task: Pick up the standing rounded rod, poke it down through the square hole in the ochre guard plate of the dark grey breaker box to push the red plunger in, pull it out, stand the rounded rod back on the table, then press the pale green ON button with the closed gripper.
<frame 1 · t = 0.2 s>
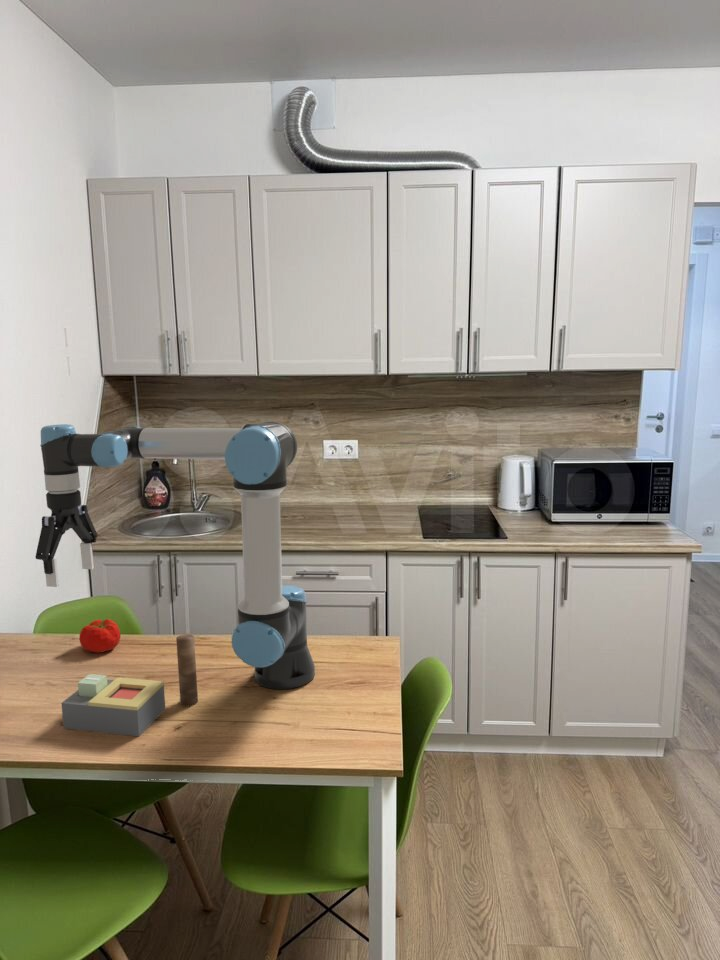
hand: (71, 577, 171), 28 cm above the table, fingers open, 13 cm apart
tomato: (102, 649, 197), on the table
on button: (93, 687, 159), point 7 cm above the table, slide at 0.0 cm
rounded rod: (189, 702, 166), on the table
plunger: (126, 700, 157), point 5 cm above the table, slide at 0.0 cm
breaker box: (115, 718, 159), on the table
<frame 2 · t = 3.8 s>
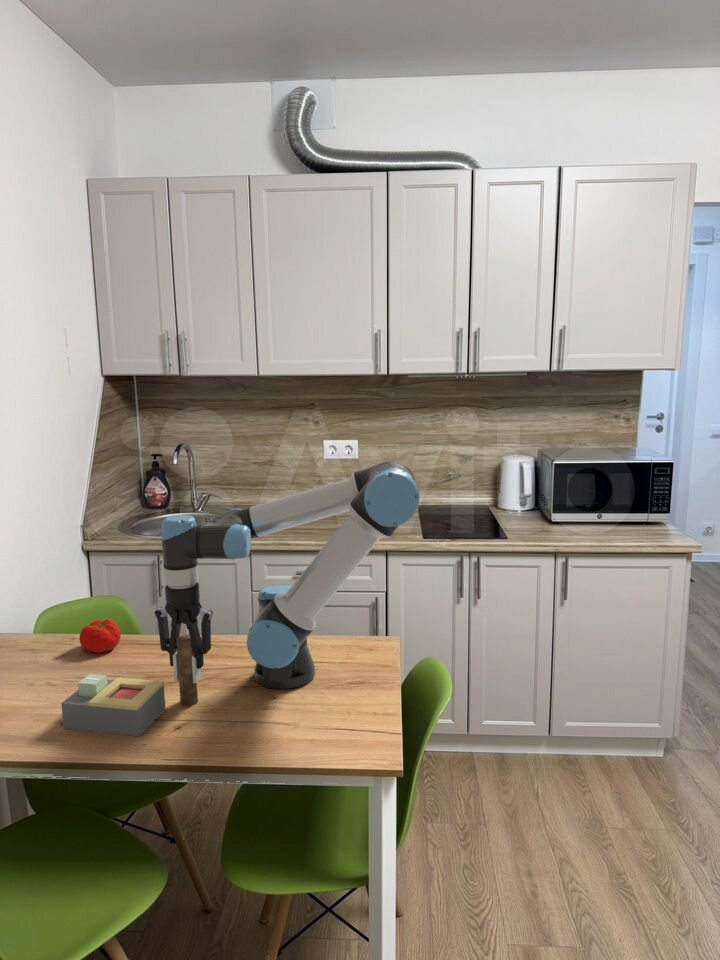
hand: (187, 679, 165), 6 cm above the table, fingers closed on rounded rod, 4 cm apart
rounded rod: (189, 702, 166), on the table, touching gripper
everything else where it was.
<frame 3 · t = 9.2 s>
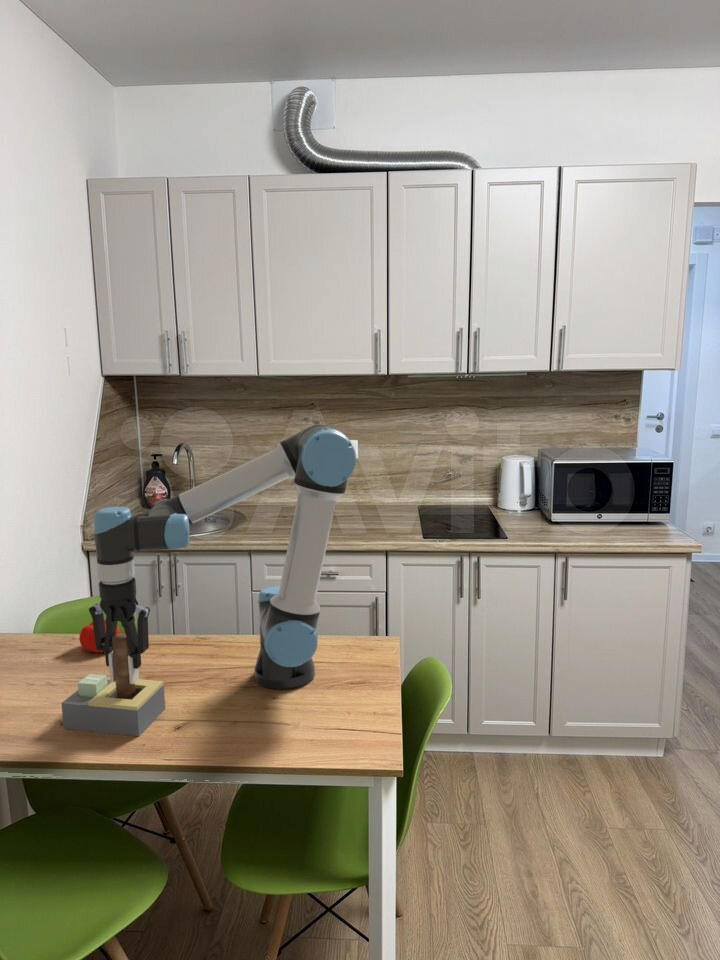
hand: (124, 680, 157), 9 cm above the table, fingers closed on rounded rod, 4 cm apart
rounded rod: (126, 704, 158), point 4 cm above the table, touching gripper, plunger
plunger: (127, 709, 158), point 2 cm above the table, slide at 2.2 cm, touching rounded rod
everything else where it was.
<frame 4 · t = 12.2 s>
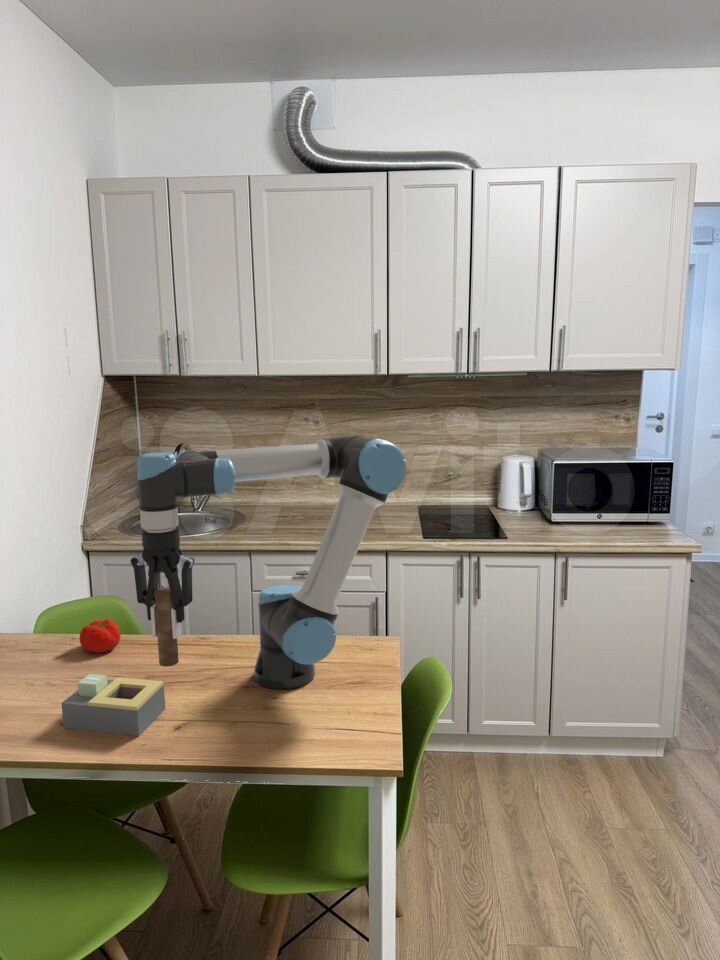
hand: (167, 635, 150), 22 cm above the table, fingers closed on rounded rod, 4 cm apart
rounded rod: (168, 662, 151), point 16 cm above the table, touching gripper
plunger: (127, 709, 158), point 2 cm above the table, slide at 2.2 cm
everything else where it was.
when the fingers open (7 cm above the table, at t = 14.9 s): rounded rod stays where it is, on the table.
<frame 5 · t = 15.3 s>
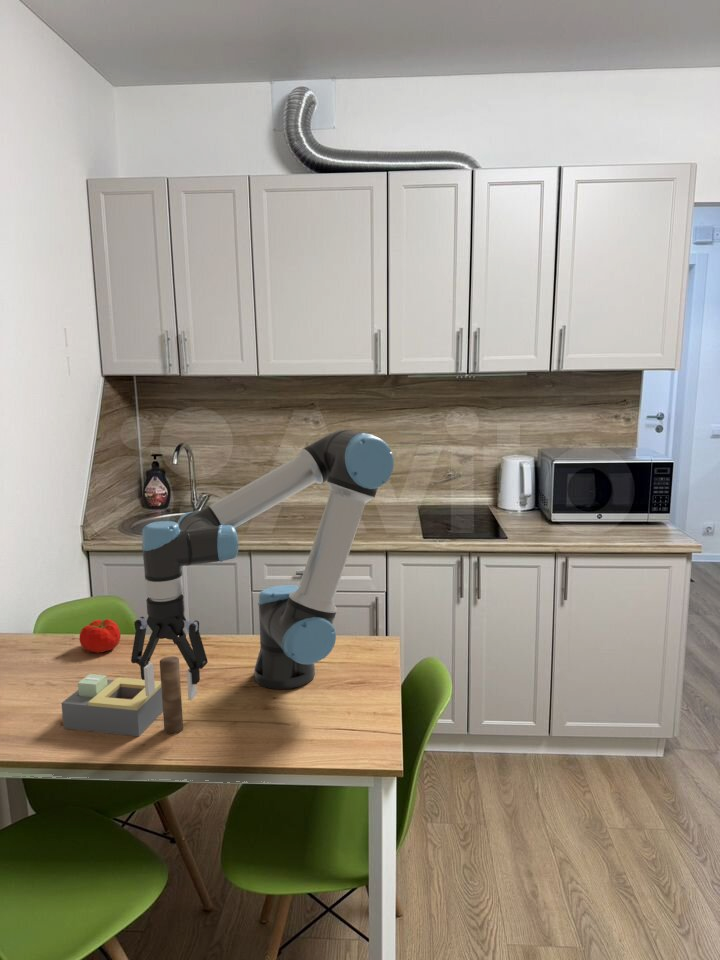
hand: (171, 695, 153), 8 cm above the table, fingers open, 9 cm apart
rounded rod: (173, 729, 154), on the table
everything else where it was.
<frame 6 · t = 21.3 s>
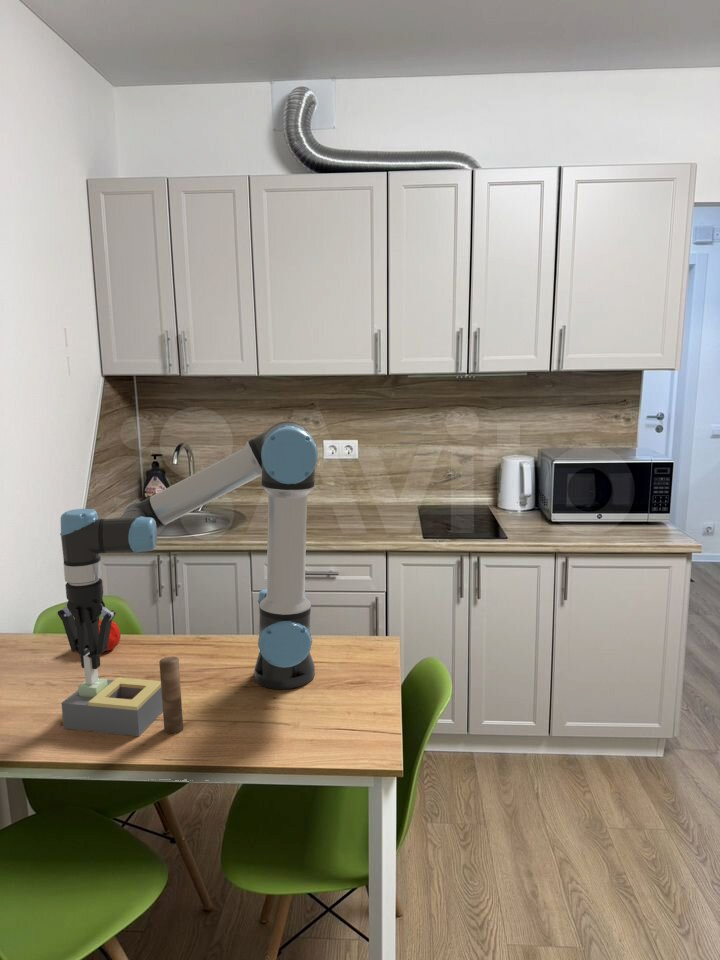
hand: (92, 681, 158), 9 cm above the table, fingers closed
on button: (93, 690, 159), point 6 cm above the table, slide at 0.8 cm, touching gripper
everything else where it was.
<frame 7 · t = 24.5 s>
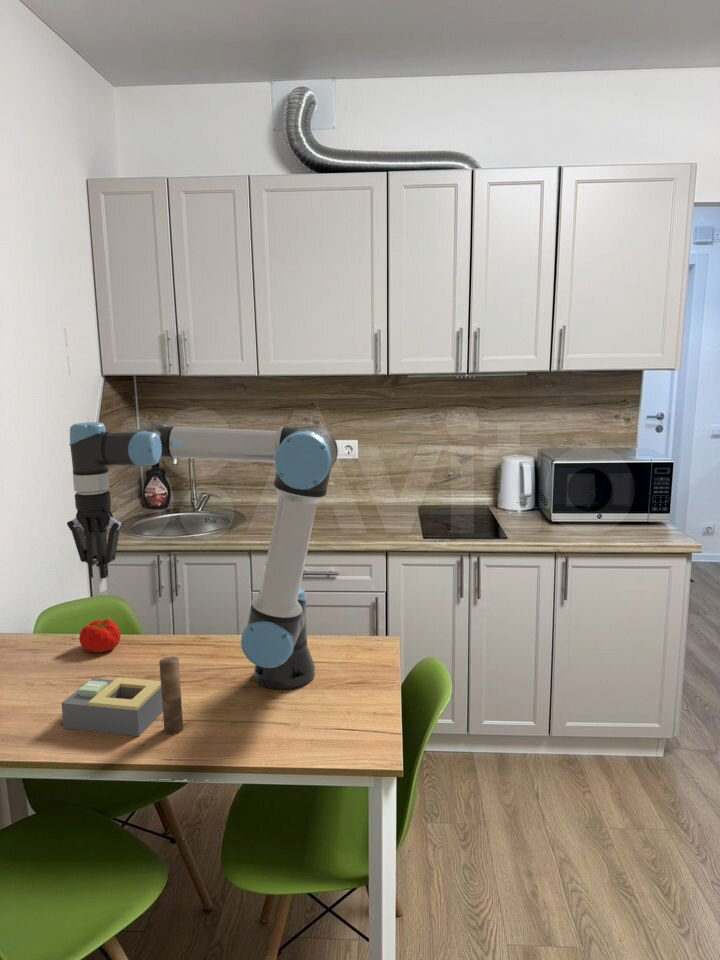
hand: (100, 591, 164), 26 cm above the table, fingers closed
on button: (93, 693, 159), point 5 cm above the table, slide at 1.6 cm
everything else where it was.
at the end: plunger slide at 2.2 cm; on button slide at 1.6 cm; rounded rod tilted 1° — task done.
